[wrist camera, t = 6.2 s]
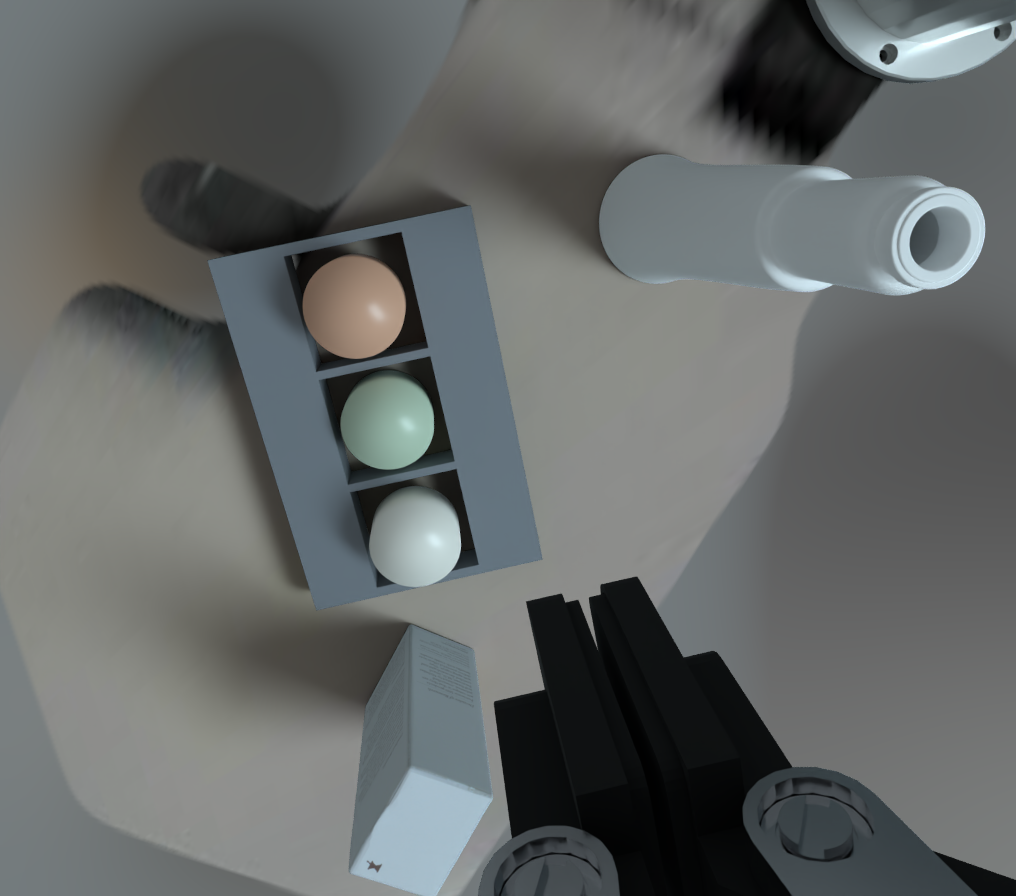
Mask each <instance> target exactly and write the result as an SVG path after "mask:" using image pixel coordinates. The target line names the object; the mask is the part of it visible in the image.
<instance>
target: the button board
mask: <svg viewBox="0 0 1016 896" xmlns="http://www.w3.org/2000/svg"><path fill="white" fill-rule="evenodd" d="M398 232H402V236H403V240H404V245H405V249H406V253H407V258H408V262H409V266H410V270H411V275H412V279H413V283H414V288H415V292H416V296H417V301H418V305H419V309H420V314H421V318H422V322H423V326H424V331H425V335H426V339H427V341H426V342H421V343H416V344H412V345H407V346H402V347H398V348H393V349H388V350H384V351H382V352H380V353H378V354H376V355H374V356H371V357H367V358H361V359H352V358H347V359H342V360H337V361H333V362H328V363H323V364H321V360H320V357H319V353H318V350H317V346H316V342H315V339H314V338H313V336H312V335H311V333H310V331H309V329H308V327H307V325H306V322H305V320H304V315H303V296H302V292H301V288H300V285H299V281H298V278H297V274H296V270H295V267H294V263H293V260H292V256H291V255H293V254H298V253H303V252H308V251H312V250H317V249H322V248H327V247H331V246H336V245H341V244H346V243H351V242H355V241H360V240H365V239H370V238H374V237H379V236H384V235H389V234H394V233H398ZM208 264H209V268H210V271H211V274H212V277H213V280H214V283H215V287H216V290H217V293H218V296H219V300H220V303H221V306H222V309H223V312H224V316H225V319H226V322H227V325H228V328H229V332H230V335H231V338H232V341H233V344H234V348H235V351H236V354H237V357H238V361H239V364H240V367H241V370H242V373H243V377H244V380H245V383H246V386H247V389H248V393H249V396H250V399H251V402H252V405H253V409H254V412H255V415H256V418H257V421H258V425H259V428H260V431H261V434H262V437H263V441H264V444H265V447H266V450H267V453H268V457H269V460H270V463H271V466H272V470H273V473H274V476H275V479H276V482H277V486H278V489H279V492H280V495H281V498H282V502H283V505H284V508H285V511H286V514H287V518H288V521H289V524H290V527H291V530H292V534H293V537H294V540H295V543H296V546H297V550H298V553H299V556H300V559H301V563H302V566H303V569H304V572H305V575H306V579H307V582H308V585H309V588H310V591H311V595H312V598H313V601H314V604H315V607H316V610H321V609H325V608H330V607H334V606H339V605H343V604H347V603H352V602H356V601H361V600H365V599H369V598H374V597H378V596H383V595H387V594H392V593H396V592H400V591H405V590H409V589H414V588H418V587H408V586H402V585H399V584H396V583H394V582H392V581H390V580H389V579H387V578H386V577H385V576H383V575H382V574H381V573H380V572H379V571H378V569H377V568H376V567H375V565H374V563H373V561H372V558H371V555H370V550H369V542H370V537H369V533H368V529H367V526H366V522H365V519H364V515H363V511H362V508H361V504H360V501H359V497H358V493H357V491H359V490H363V489H368V488H372V487H377V486H381V485H386V484H390V483H395V482H399V481H404V480H408V479H413V478H418V477H422V476H427V475H431V474H436V473H440V472H445V471H449V470H454V469H457V473H458V477H459V481H460V486H461V490H462V494H463V499H464V503H465V507H466V511H467V516H468V520H469V524H470V529H471V533H472V537H473V542H474V546H475V549H473V550H469V551H464V552H460V555H459V558H458V561H457V563H456V565H455V566H454V568H453V569H452V570H451V572H449V573H448V574H447V575H446V576H445V577H444V578H442V579H441V580H439V581H437V582H435V583H433V584H436V583H440V582H445V581H449V580H454V579H458V578H462V577H467V576H471V575H476V574H480V573H485V572H489V571H493V570H498V569H502V568H507V567H511V566H515V565H520V564H524V563H529V562H533V561H538V560H542V554H541V549H540V544H539V539H538V534H537V529H536V524H535V519H534V515H533V510H532V505H531V500H530V495H529V490H528V485H527V480H526V475H525V470H524V465H523V460H522V456H521V451H520V446H519V441H518V436H517V431H516V426H515V421H514V416H513V411H512V406H511V401H510V397H509V392H508V387H507V382H506V377H505V372H504V367H503V362H502V357H501V352H500V347H499V342H498V337H497V333H496V328H495V323H494V318H493V313H492V308H491V303H490V298H489V293H488V288H487V283H486V278H485V274H484V269H483V264H482V259H481V254H480V249H479V244H478V239H477V234H476V229H475V224H474V219H473V215H472V210H471V206H464V207H459V208H454V209H449V210H444V211H440V212H435V213H430V214H425V215H421V216H416V217H411V218H406V219H401V220H397V221H392V222H387V223H382V224H377V225H373V226H368V227H363V228H358V229H353V230H349V231H344V232H339V233H334V234H330V235H325V236H320V237H315V238H310V239H306V240H301V241H296V242H291V243H286V244H282V245H277V246H272V247H267V248H262V249H258V250H253V251H248V252H243V253H239V254H234V255H229V256H224V257H219V258H215V259H211V260H208ZM429 356H430V357H431V361H432V365H433V369H434V374H435V378H436V382H437V387H438V391H439V395H440V400H441V404H442V408H443V412H444V417H445V421H446V425H447V430H448V434H449V438H450V443H451V447H452V450H449V451H444V452H440V453H435V454H430V455H426V456H421V457H420V458H419V459H417V460H416V461H415V462H413V463H411V464H410V465H407V466H405V467H402V468H398V469H389V470H386V469H378V468H374V467H371V468H367V469H362V470H358V471H353V472H351V468H350V465H349V461H348V457H347V454H346V450H345V447H344V443H343V439H342V436H341V432H340V429H339V425H338V422H337V418H336V414H335V411H334V407H333V404H332V400H331V396H330V393H329V389H328V386H327V382H326V378H331V377H336V376H340V375H345V374H350V373H354V372H359V371H364V370H368V369H373V368H378V367H382V366H387V365H391V364H396V363H401V362H405V361H410V360H415V359H419V358H424V357H429ZM430 585H431V584H430ZM421 587H423V586H421Z"/></svg>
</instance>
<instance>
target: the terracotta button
mask: <svg viewBox="0 0 1016 896" xmlns="http://www.w3.org/2000/svg"><path fill="white" fill-rule="evenodd" d="M405 312H406V296H405V291H404V288H403V285H402V283H401V281H400V279H399V278H398V276H397V275H396V273H395V272H394V271H393V270H392V269H391V268H390V267H389V266H388V265H387V264H385V263H384V262H383V261H381V260H379V259H377V258H375V257H372V256H369V255H364V254H349V255H344V256H340V257H338V258H336V259H334V260H332V261H330V262H329V263H327V264H325V265H324V266H322V267H321V268H320V269H319V270H317V272H316V273H315V274H314V275H313V276H312V278H311V279H310V280H309V282H308V284H307V286H306V289H305V292H304V297H303V315H304V320H305V322H306V325H307V327H308V329H309V331H310V333H311V335H312V336H313V338H314V339H315V340H316V341H317V342H318V343H319V344H320V345H321V346H322V347H324V348H325V349H326V350H328V351H330V352H331V353H333V354H336V355H338V356H341V357H345V358H352V359H361V358H367V357H371V356H374V355H376V354H378V353H380V352H382V351H384V350H385V349H386V348H387V347H389V346H390V345H391V344H392V343H393V342H394V340H395V339H396V338H397V336H398V334H399V333H400V331H401V328H402V325H403V322H404V317H405Z"/></svg>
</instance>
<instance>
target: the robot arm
mask: <svg viewBox="0 0 1016 896" xmlns="http://www.w3.org/2000/svg"><path fill="white" fill-rule="evenodd" d="M806 2H807V5H808V7H809V10H810V12H811V15H812V17H813V20H814V21H815V23H816V25H817V26H818V28H819V29H820V31H821V32H822V34H823V36H824V37H825V39H826V40H827V42H828V43H829V44H830V45H831V46H832V47H833V48H834V49H835V50H836V51H837V52H838V53H839V54H840V55H841V56H842V57H843V58H844V59H845V60H846V61H848V62H849V63H851V64H852V65H854V66H855V67H857V68H858V69H860V70H862V71H863V72H865V73H867V74H870V75H872V76H875V77H878V78H881V79H884V80H886V81H893V82H901V83H909V84H911V83H922V82H932V81H937V80H941V79H944V78H949V77H953V76H957V75H960V74H962V73H964V72H967V71H969V70H972V69H974V68H976V67H979V66H981V65H983V64H984V63H986V62H987V61H989V60H990V59H992V58H993V57H995V56H996V55H998V54H999V53H1001V52H1002V51H1003V50H1005V49H1006V48H1007V47H1008V46H1009V45H1010V44H1011V43H1012V42H1013V41H1014V40H1016V0H806ZM880 53H881V54H882V60H880V57H879V55H880ZM600 589H601V595H597V596H593V597H589V604H590V609H591V615H592V620H593V626H594V631H595V636H596V642H597V647H598V650H597V647H596V644H595V642H594V639H593V637H592V634H591V631H590V629H589V626H588V624H587V621H586V618H585V616H584V613H583V611H582V608H581V605H580V603H579V601H578V600H575V601H571V602H566V603H565V601H564V598H563V595H562V594H557V595H553V596H548V597H544V598H540V599H535V600H531V601H526V603H527V608H528V613H529V618H530V622H531V627H532V632H533V636H534V641H535V646H536V650H537V655H538V660H539V664H540V669H541V674H542V678H543V683H544V688H545V690H542V691H538V692H533V693H529V694H525V695H520V696H516V697H512V698H507V699H503V700H499V701H494V708H495V716H496V724H497V731H498V738H499V746H500V753H501V761H502V768H503V775H504V783H505V790H506V798H507V805H508V812H509V820H510V827H511V835H512V839H511V840H509V841H508V842H507V843H506V844H505V845H504V846H502V847H501V848H500V849H499V850H498V851H497V852H496V853H495V854H494V855H493V857H492V858H491V860H490V861H489V863H488V864H487V866H486V867H485V869H484V871H483V875H482V879H481V882H480V886H479V893H478V896H1016V880H1014V879H1011V878H1008V877H1006V876H1003V875H999V874H997V873H994V872H991V871H988V870H986V869H983V868H980V867H977V866H974V865H971V864H969V863H966V862H963V861H959V860H957V859H954V858H952V857H949V856H946V855H943V854H940V853H937V852H934V851H932V850H931V849H930V848H929V847H928V846H927V845H926V844H925V843H924V842H923V841H922V840H921V839H920V838H919V837H918V836H917V835H916V834H915V833H914V832H913V831H912V830H911V829H910V828H909V827H908V826H907V825H906V824H905V823H904V822H903V821H902V820H901V819H900V818H899V817H898V816H897V815H896V814H895V813H894V812H893V811H892V810H891V809H890V808H889V807H888V806H887V805H885V803H884V802H883V801H881V799H880V798H879V797H877V796H876V795H875V794H874V793H873V792H872V791H871V790H869V789H868V788H867V787H865V786H864V785H863V784H861V783H860V782H858V781H857V780H855V779H853V778H851V777H848V776H846V775H844V774H842V773H839V772H837V771H832V770H827V769H822V768H818V767H792V766H791V764H790V763H789V761H788V760H787V758H786V757H785V755H784V753H783V752H782V751H781V749H780V747H779V746H778V744H777V743H776V741H775V740H774V738H773V737H772V735H771V734H770V732H769V731H768V729H767V727H766V726H765V724H764V723H763V721H762V720H761V718H760V717H759V715H758V714H757V712H756V710H755V709H754V707H753V706H752V704H751V703H750V701H749V700H748V698H747V697H746V695H745V694H744V692H743V691H742V689H741V687H740V686H739V684H738V683H737V681H736V680H735V678H734V677H733V675H732V674H731V672H730V670H729V669H728V667H727V666H726V665H725V663H724V661H723V660H722V659H721V657H720V656H719V655H718V653H717V652H715V651H710V652H706V653H702V654H697V655H693V656H689V657H684V658H683V656H682V654H681V652H680V651H679V649H678V647H677V645H676V644H675V642H674V640H673V639H672V637H671V635H670V633H669V631H668V630H667V628H666V626H665V624H664V622H663V621H662V619H661V617H660V616H659V614H658V612H657V610H656V608H655V607H654V605H653V603H652V601H651V600H650V598H649V596H648V594H647V592H646V591H645V589H644V587H643V585H642V584H641V582H640V580H639V579H638V577H632V578H628V579H623V580H619V581H614V582H610V583H606V584H601V586H600Z"/></svg>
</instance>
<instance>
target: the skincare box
mask: <svg viewBox="0 0 1016 896" xmlns="http://www.w3.org/2000/svg"><path fill="white" fill-rule="evenodd" d="M492 799H493V793H492V786H491V777H490V770H489V762H488V754H487V746H486V738H485V730H484V723H483V714H482V707H481V699H480V691H479V683H478V675H477V668H476V661H475V652H474V650H473V649H471V648H470V647H467V646H464V645H462V644H459V643H456V642H454V641H452V640H449V639H446V638H444V637H441V636H439V635H436V634H434V633H431V632H429V631H427V630H424V629H422V628H419V627H417V626H415V625H412V624H411V625H409V626H408V628H407V630H406V632H405V634H404V636H403V638H402V640H401V641H400V643H399V645H398V647H397V649H396V651H395V652H394V654H393V656H392V658H391V660H390V662H389V664H388V665H387V667H386V669H385V671H384V673H383V675H382V677H381V679H380V680H379V682H378V684H377V686H376V688H375V690H374V692H373V694H372V695H371V697H370V699H369V701H368V703H367V705H366V707H365V716H364V725H363V734H362V744H361V753H360V764H359V774H358V783H357V792H356V801H355V811H354V821H353V829H352V837H351V847H350V859H349V873H350V874H353V875H357V876H360V877H363V878H367V879H370V880H373V881H376V882H380V883H383V884H386V885H389V886H392V887H395V888H398V889H401V890H405V891H408V892H411V893H414V894H417V895H421V896H436V895H437V893H438V891H439V890H440V888H441V886H442V885H443V883H444V881H445V880H446V878H447V876H448V874H449V873H450V871H451V869H452V868H453V866H454V864H455V863H456V861H457V859H458V857H459V856H460V854H461V852H462V850H463V849H464V847H465V845H466V843H467V842H468V840H469V838H470V836H471V835H472V833H473V831H474V829H475V828H476V826H477V824H478V823H479V821H480V819H481V817H482V816H483V814H484V812H485V811H486V809H487V807H488V806H489V804H490V803H491V801H492Z"/></svg>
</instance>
